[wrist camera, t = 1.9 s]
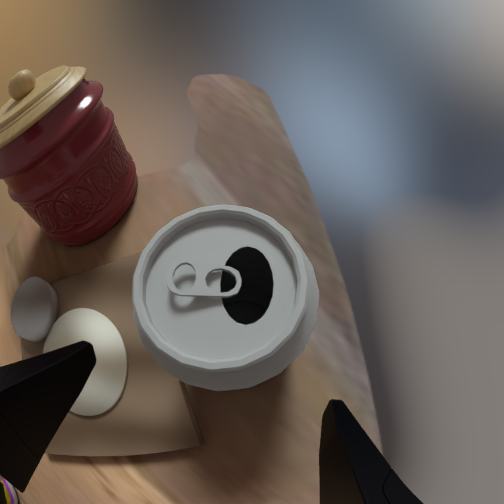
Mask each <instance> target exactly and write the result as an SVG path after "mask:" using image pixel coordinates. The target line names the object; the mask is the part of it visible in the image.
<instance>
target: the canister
mask: <svg viewBox="0 0 504 504" xmlns="http://www.w3.org/2000/svg"><path fill="white" fill-rule="evenodd" d="M85 75H86V69H85V68H84V67H68V66H60V67H57V68H55V69H52V70H51V71H48V72H46V73H45V74H43V75H41V76H39V77H38V78H36V79H35V76H34V74H33V73H32V72H31V71H29V70H22V71H20V72H18V73H17V74H15V75H14V76H13V78H12V79H11V80H10V83H9V87H8V88H9V94H10V96H11V97H12V98H11V99H10V100H9V101H8V102H7V103H6V104H5V105H4V106H3V107H2V108H1V109H0V179H3V180H4V181H5V183H6V184H7V186H8V193H9V195H10V197H11V199H12V200H14V201H15V202H18V203H19V205H20V206H21V207H22V208H23V209H24V210H25V211H26V212H27V213H28V214H29V215H30V216H31V217H32V218H33V219H34V220H35V222H36V223H37V224H38V225H39V226H40V228H41V229H42V231H43V232H44V233H45V234H46V235H47V236H48V237H49V238H51V239H52V240H54V241H57V242H58V243H60V244H62V245H66V246H79V245H83V244H86V243H88V242H91V241H93V240H95V239H97V238H98V237H100V236H102V235H103V234H104V233H106V232H107V231H108V230H109V229H111V228H112V227H113V226H114V225H115V224H116V223H117V222H118V221H119V220H120V219H121V217H122V216H123V215H124V214H125V212H126V211H127V209H128V208H129V206H130V204H131V203H132V201H133V198H134V196H135V193H136V189H137V182H138V181H137V174H136V167H135V164H134V161H133V159H132V157H131V155H130V154H129V152H128V151H127V150H126V148H125V145H124V143H123V141H122V138H121V136H120V134H119V132H118V129H117V127H116V125H115V122H114V115H113V113H112V111H111V110H110V109H109V108H107V107H105V106H104V105H103V103H102V101H101V97H102V94H103V87H102V85H101V84H100V83H99V82H97V81H86V80H85V79H84V78H85Z"/></svg>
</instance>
